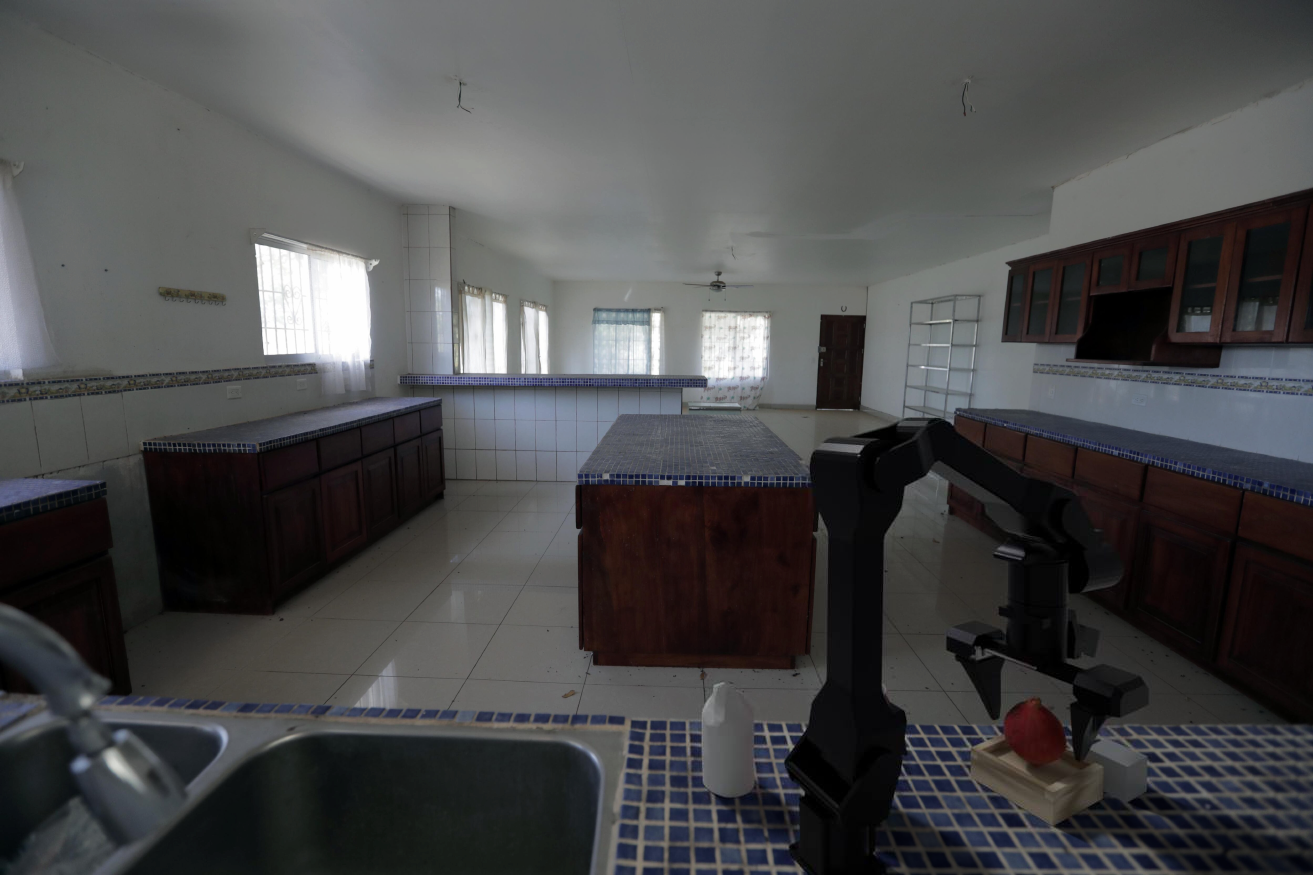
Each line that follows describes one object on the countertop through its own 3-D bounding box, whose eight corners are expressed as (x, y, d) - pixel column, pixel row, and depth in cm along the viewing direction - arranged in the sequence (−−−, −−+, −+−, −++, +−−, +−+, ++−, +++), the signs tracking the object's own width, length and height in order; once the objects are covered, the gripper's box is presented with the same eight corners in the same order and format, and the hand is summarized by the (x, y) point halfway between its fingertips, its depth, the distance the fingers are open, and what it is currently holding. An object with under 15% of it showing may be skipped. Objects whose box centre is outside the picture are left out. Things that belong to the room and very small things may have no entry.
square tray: (1052, 825, 60) (1053, 792, 60) (970, 777, 68) (970, 747, 68) (1103, 798, 64) (1103, 766, 64) (1019, 755, 72) (1020, 726, 72)
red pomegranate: (1005, 774, 65) (1003, 705, 64) (1003, 743, 70) (1001, 678, 69) (1070, 788, 62) (1069, 715, 61) (1062, 754, 67) (1062, 687, 66)
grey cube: (1126, 803, 63) (1127, 766, 63) (1085, 782, 67) (1086, 747, 66) (1146, 791, 65) (1147, 756, 65) (1105, 771, 68) (1106, 738, 68)
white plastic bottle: (755, 671, 69) (752, 694, 64) (756, 771, 70) (753, 802, 64) (704, 667, 71) (697, 689, 65) (705, 765, 71) (698, 795, 66)
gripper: (1179, 612, 60) (1175, 762, 61) (1001, 568, 77) (1000, 687, 77) (1118, 632, 55) (1115, 795, 56) (942, 581, 72) (942, 707, 73)
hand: (1035, 738), depth 66 cm, fingers open, 9 cm apart
